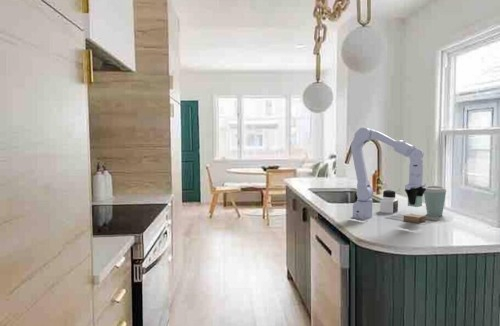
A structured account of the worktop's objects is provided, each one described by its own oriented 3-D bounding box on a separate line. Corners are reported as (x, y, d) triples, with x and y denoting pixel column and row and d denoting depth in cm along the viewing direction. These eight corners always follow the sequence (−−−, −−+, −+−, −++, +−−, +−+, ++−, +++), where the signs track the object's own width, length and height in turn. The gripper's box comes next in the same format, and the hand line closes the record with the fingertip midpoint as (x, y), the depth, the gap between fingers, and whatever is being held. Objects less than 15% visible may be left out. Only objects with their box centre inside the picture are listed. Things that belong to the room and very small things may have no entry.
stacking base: (423, 227, 184) (423, 219, 184) (383, 219, 199) (383, 212, 199) (438, 222, 193) (439, 215, 193) (399, 216, 208) (399, 209, 208)
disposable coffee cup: (447, 219, 201) (448, 188, 200) (422, 217, 205) (423, 187, 204) (444, 215, 211) (445, 185, 210) (421, 214, 215) (422, 185, 214)
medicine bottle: (393, 215, 211) (393, 191, 211) (379, 213, 216) (380, 190, 215) (397, 213, 217) (398, 190, 216) (384, 211, 221) (384, 189, 221)
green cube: (416, 207, 189) (417, 197, 189) (407, 205, 193) (407, 196, 192) (421, 206, 192) (422, 196, 192) (412, 204, 195) (413, 195, 195)
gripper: (415, 176, 183) (414, 206, 184) (432, 174, 193) (431, 203, 194) (401, 175, 189) (400, 204, 190) (417, 173, 198) (416, 201, 199)
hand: (415, 203), depth 192 cm, fingers closed on green cube, 4 cm apart
